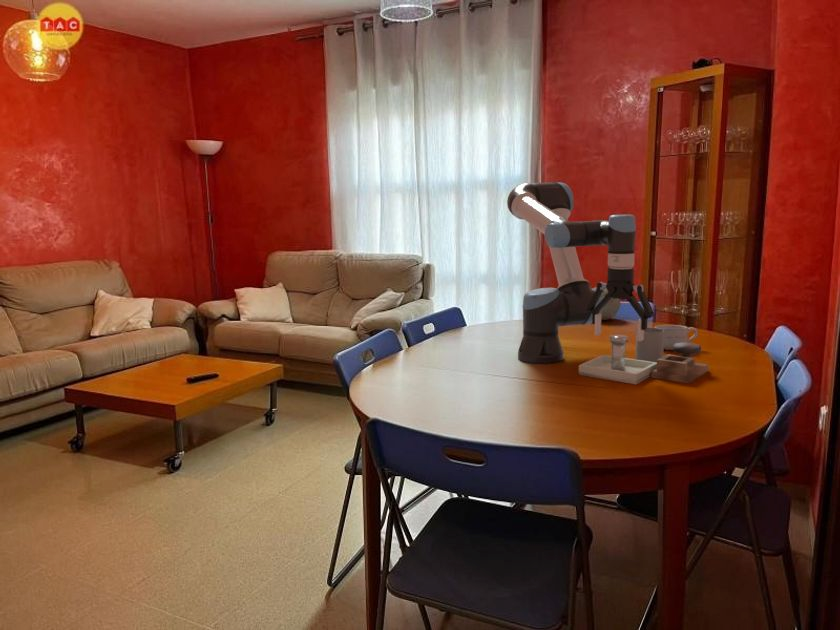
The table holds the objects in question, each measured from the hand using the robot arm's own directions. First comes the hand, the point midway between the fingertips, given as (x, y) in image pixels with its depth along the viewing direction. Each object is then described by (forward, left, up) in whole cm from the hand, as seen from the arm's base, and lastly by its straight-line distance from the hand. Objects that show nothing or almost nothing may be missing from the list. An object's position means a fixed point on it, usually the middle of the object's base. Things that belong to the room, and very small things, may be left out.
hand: (618, 337), depth 191 cm
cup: (+1, +21, -11) cm, 24 cm away
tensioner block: (+15, +10, -11) cm, 21 cm away
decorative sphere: (-43, +77, -11) cm, 89 cm away
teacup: (+2, +41, -11) cm, 42 cm away
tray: (0, 0, -11) cm, 11 cm away
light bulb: (0, 0, -10) cm, 10 cm away
